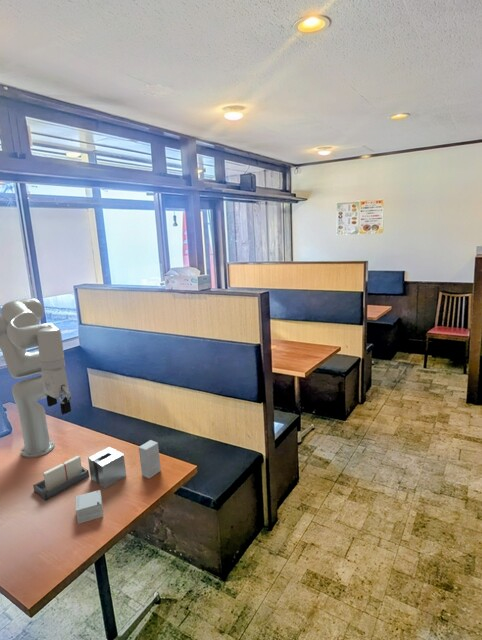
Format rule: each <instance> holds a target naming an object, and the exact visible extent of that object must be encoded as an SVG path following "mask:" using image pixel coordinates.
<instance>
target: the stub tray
mask: <svg viewBox="0 0 482 640" xmlns="http://www.w3.org/2000/svg"><path fill="white" fill-rule="evenodd" d="M82 472H83V473H81V474H79V475H77V476H75V477H73V478H72V479H70V480H68V481H66V482H64V483H62V484H61V485H59V486H57V487H55V488H53V489H51V490H50V491H47V490H46V486H45V480H44V479H43V480H41V481H38V482H37V483H35V484H33V492H34V493H36V494H37V495H38V496H39V497H41V499H43V500H44V501H48V500H50V499H52V498H53V497H55V496H57V495H59V494H60V493H62V492H64V491H66V490H68V489H70V488H71V487H73V486H76V485H77V484H78V483H80V482H82V481H84V480H86V479H87V478H89V477H90V470H88V469H86V468H85V467H83V466H82Z"/></svg>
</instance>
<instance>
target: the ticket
mask: <svg viewBox="0 0 482 640" xmlns="http://www.w3.org/2000/svg"><path fill="white" fill-rule="evenodd" d="M81 460H82V459H81V456H80V455H76V456H74V457H71V458H70V459H68V460H66V461H63V462H62V463H60V464H57V465H56V466H54V467H52V468H50V469H47V470H46V471H44V472H42V473H43V478H44V479H43V480H45V486H46V490H47V491H50V490H51V489H53V488H55V487H57V486H59V485H61V484H62V483H64V482H66V481H68V480H70V479H72V478H73V477H75V476H77V475H79V474H81V473H83V472H82V467H83V466H82V461H81Z"/></svg>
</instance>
